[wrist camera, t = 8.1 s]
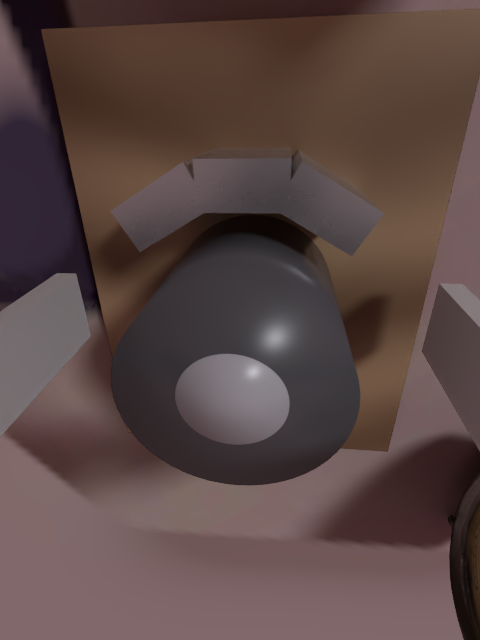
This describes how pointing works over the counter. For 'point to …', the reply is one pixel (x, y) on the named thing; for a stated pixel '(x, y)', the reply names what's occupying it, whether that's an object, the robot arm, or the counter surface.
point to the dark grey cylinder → (240, 358)
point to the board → (277, 132)
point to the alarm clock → (466, 561)
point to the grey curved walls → (251, 196)
